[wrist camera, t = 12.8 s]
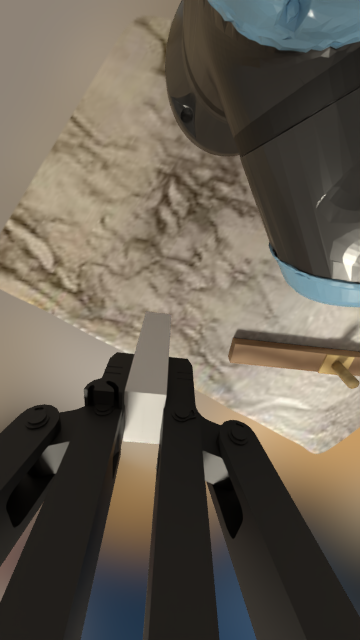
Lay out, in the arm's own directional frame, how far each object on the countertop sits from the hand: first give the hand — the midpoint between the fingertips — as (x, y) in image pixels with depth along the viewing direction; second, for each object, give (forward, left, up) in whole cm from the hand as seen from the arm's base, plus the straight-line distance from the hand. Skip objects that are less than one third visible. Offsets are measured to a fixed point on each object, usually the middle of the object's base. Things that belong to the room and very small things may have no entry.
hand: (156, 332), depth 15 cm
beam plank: (+16, +28, -24) cm, 40 cm away
